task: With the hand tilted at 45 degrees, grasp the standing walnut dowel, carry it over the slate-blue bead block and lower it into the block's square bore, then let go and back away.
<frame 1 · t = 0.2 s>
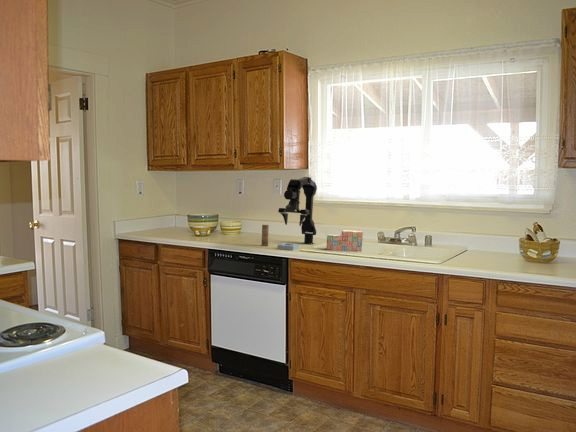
hand: (293, 225, 317), 14 cm above the worktop, tool pointing down, fingers open, 9 cm apart
bead block: (288, 248, 317), on the worktop
stack of blocks: (343, 250, 321), on the worktop
dowel: (264, 245, 326), on the worktop
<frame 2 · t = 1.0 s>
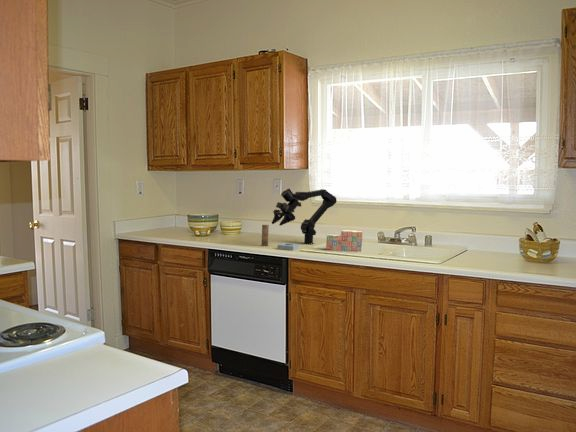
hand: (275, 224, 329), 13 cm above the worktop, tool tilted 45°, fingers open, 9 cm apart
nothing on the worktop moved.
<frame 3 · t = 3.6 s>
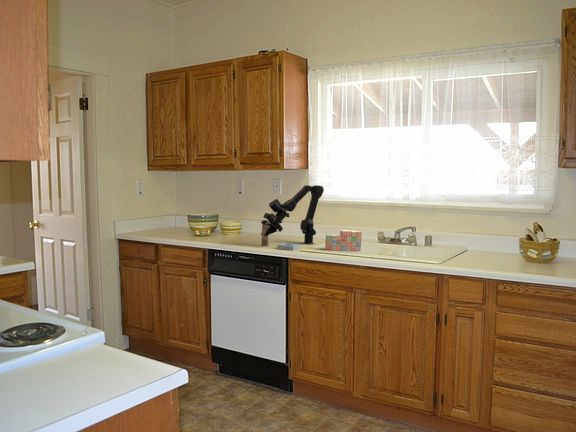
hand: (263, 235, 325), 7 cm above the worktop, tool tilted 45°, fingers closed on dowel, 4 cm apart
dowel: (264, 245, 326), on the worktop, touching gripper
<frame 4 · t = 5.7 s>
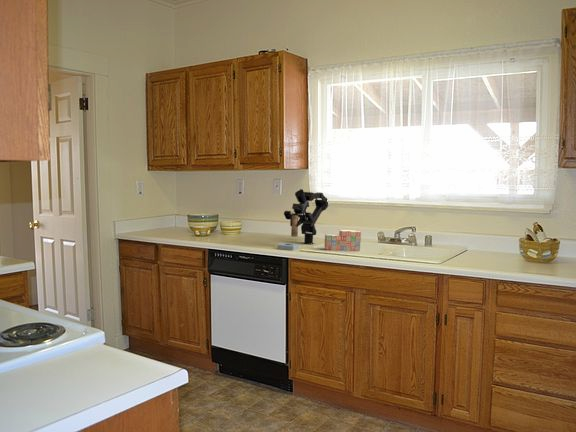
hand: (293, 226, 323), 13 cm above the worktop, tool tilted 45°, fingers closed on dowel, 4 cm apart
dowel: (294, 236, 325), point 7 cm above the worktop, touching gripper
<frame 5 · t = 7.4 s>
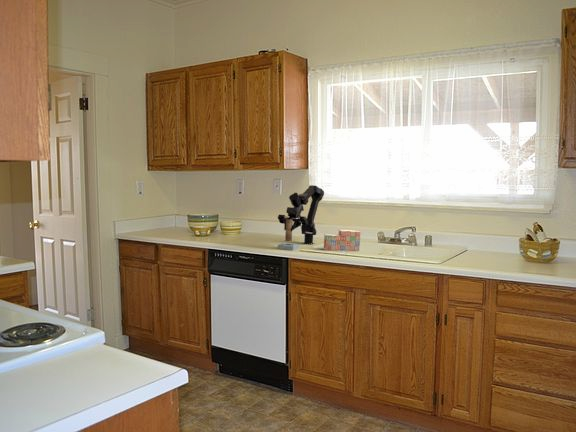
hand: (287, 230, 315), 11 cm above the worktop, tool tilted 45°, fingers closed on dowel, 4 cm apart
dowel: (288, 240, 317), point 5 cm above the worktop, touching gripper
when the fingers open (8 cm above the worktop, at t = 8.3 s): dowel drops 2 cm, resting in bead block.
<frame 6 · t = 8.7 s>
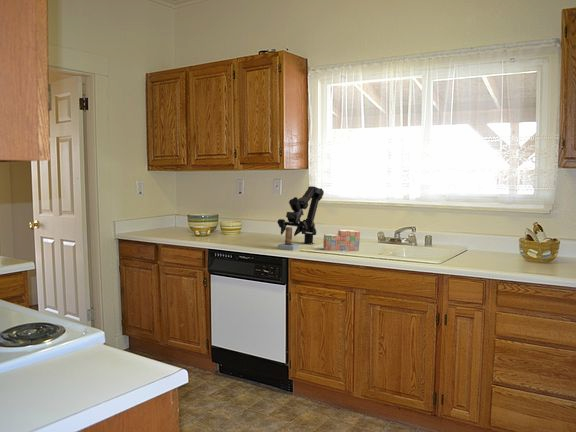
hand: (287, 234, 315), 9 cm above the worktop, tool tilted 45°, fingers open, 9 cm apart
dowel: (288, 248, 317), resting in bead block
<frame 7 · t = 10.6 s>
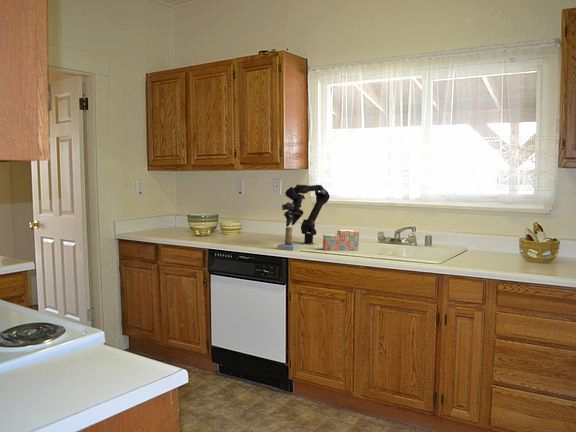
hand: (289, 225, 327), 13 cm above the worktop, tool tilted 25°, fingers open, 9 cm apart
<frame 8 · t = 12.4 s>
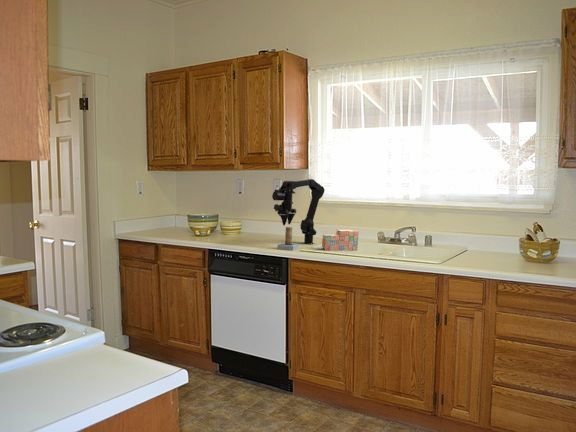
hand: (286, 224, 332), 13 cm above the worktop, tool pointing down, fingers open, 9 cm apart
at the end: dowel 0.0 cm off-centre on the bead block, point 0.0 cm above the bead block's base; dowel tilted 0°; the gripper is holding nothing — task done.
